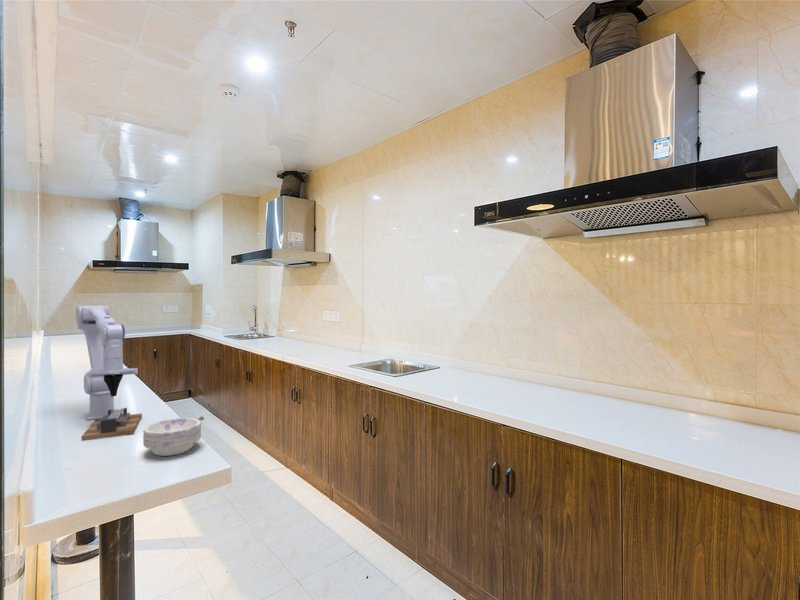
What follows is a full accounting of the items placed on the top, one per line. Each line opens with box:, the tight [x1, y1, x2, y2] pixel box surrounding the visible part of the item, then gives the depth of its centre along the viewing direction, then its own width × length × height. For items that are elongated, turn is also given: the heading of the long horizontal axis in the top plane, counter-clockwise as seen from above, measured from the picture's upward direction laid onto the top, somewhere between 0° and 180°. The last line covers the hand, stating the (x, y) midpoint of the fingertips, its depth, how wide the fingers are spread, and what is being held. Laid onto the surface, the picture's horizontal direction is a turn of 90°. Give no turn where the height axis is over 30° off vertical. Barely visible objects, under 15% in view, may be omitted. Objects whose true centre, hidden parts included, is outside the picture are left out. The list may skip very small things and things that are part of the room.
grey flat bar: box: [107, 408, 123, 420], centre depth 141 cm, size 14×3×1 cm, turn 26°
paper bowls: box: [142, 417, 202, 457], centre depth 122 cm, size 15×15×8 cm
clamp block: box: [97, 407, 131, 433], centre depth 140 cm, size 16×8×4 cm, turn 26°
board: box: [81, 413, 143, 442], centre depth 141 cm, size 20×14×2 cm
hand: (113, 395), depth 145 cm, fingers closed
